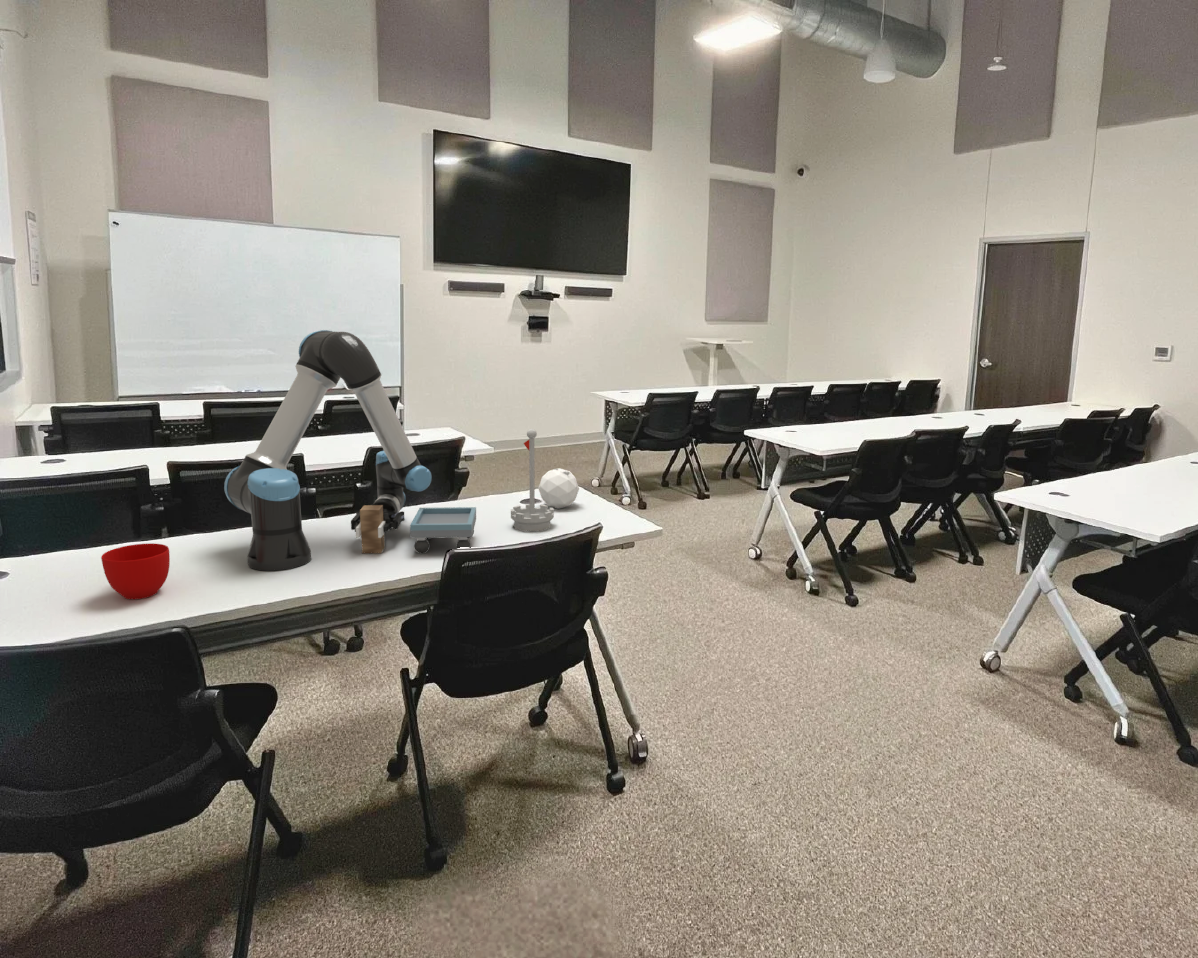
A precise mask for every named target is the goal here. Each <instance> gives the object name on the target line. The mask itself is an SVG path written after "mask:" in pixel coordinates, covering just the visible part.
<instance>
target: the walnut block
mask: <svg viewBox="0 0 1198 958" xmlns="http://www.w3.org/2000/svg"><path fill="white" fill-rule="evenodd" d="M359 512H360V522H361V536H360V538H361V539H360V540H361V554H382V553H383V552H384V550H385V547H386V545H385V544H386V543H385V541H386V540H385V533H384V534H383V536H382V537H381V538H378V527H379V526H380V524H381V523H382V521H384V520H383V505H373V504H370V505H369V504H368V505H365V504H364V505H362V507H361V509H359Z"/></svg>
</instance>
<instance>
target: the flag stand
mask: <svg viewBox="0 0 1198 958" xmlns="http://www.w3.org/2000/svg"><path fill="white" fill-rule="evenodd" d="M526 437H527V438H528V440H526V441H524V442H523V445H524V446H525V447H526V449H527V451H528V453H529V456H528V457H529V459H528V460H529V471H528V472H529V473H528V474H529V503H527V504H525V507H522V506H521V505H515V506H513V507H512V508H511V509H510V519H512V521H513V523H514V525H513V526H514V528H515V530H518V531H522V532H541V531H542V532H543V531H545V530H548V529H550V528H551V521H552V520H553V519H554V517H555V510H554V509H555V508H554V507H549V506H548V505H547V504H546V505H545V504H540V505H539V507H535V506H536V505H535V503H536V502H535V501H536V499H535V491H536V490H535V489H536V488H535V483H536V482H535V481H536V480H535V438H536V437H537V431H536V430H535V429H533V428H530V429H528V430H527V432H526ZM521 507H522V508H521Z"/></svg>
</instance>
